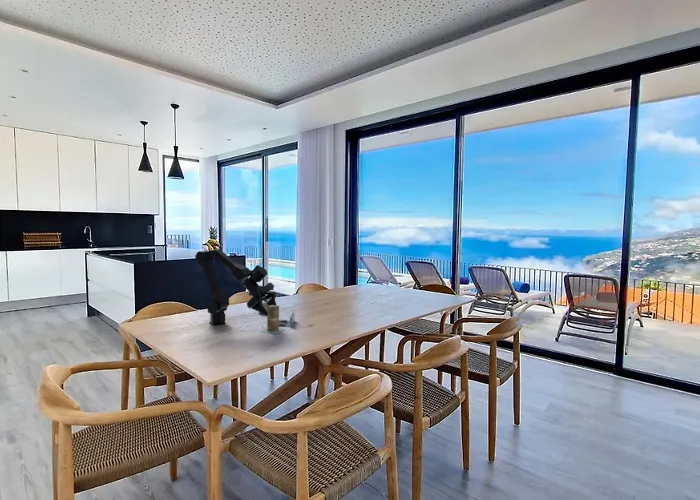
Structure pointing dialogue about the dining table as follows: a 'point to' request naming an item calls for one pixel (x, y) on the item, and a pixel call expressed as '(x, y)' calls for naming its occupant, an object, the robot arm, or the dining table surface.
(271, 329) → the tan rectangular block
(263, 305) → the ceramic mug
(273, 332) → the mat
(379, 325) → the dining table surface
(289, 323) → the bracket
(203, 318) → the dining table surface
